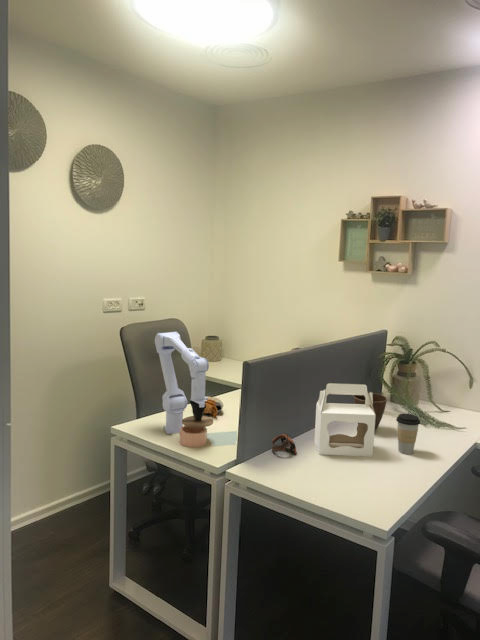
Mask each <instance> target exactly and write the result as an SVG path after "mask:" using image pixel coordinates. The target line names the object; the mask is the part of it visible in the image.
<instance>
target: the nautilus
mask: <svg viewBox="0 0 480 640" xmlns="http://www.w3.org/2000/svg"><path fill="white" fill-rule="evenodd" d="M206 397H208V399H206V400H205V402H204V403H205V404H206V408H205V410H204V412H203V415H204V414H210V415H212V417H211V418H212V419H213V420H214V418H215V419H218V416H217V415H220V414H221V412H222V410H223V408H224V403H223V401H222V400H221V399H219V398H218V397H214V396H209V395H208V396H206Z"/></svg>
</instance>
